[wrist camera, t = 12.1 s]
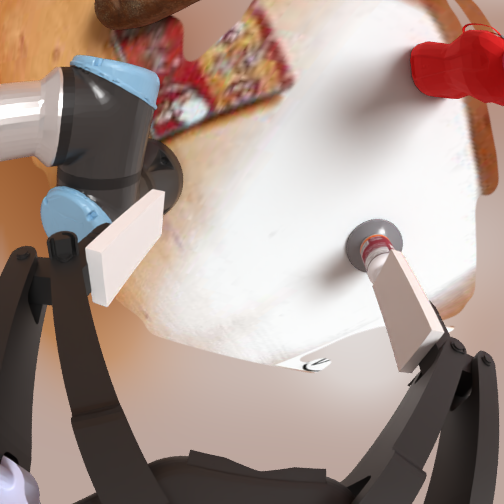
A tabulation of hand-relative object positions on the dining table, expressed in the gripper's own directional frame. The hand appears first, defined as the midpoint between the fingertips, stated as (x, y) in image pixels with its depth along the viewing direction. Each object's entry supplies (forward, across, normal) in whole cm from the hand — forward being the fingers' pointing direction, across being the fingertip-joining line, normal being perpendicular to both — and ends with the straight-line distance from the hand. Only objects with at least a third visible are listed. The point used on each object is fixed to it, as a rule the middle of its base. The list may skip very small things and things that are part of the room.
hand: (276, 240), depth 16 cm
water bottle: (+33, +20, +22) cm, 45 cm away
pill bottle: (+33, +21, -13) cm, 41 cm away
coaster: (+33, +21, -13) cm, 41 cm away
